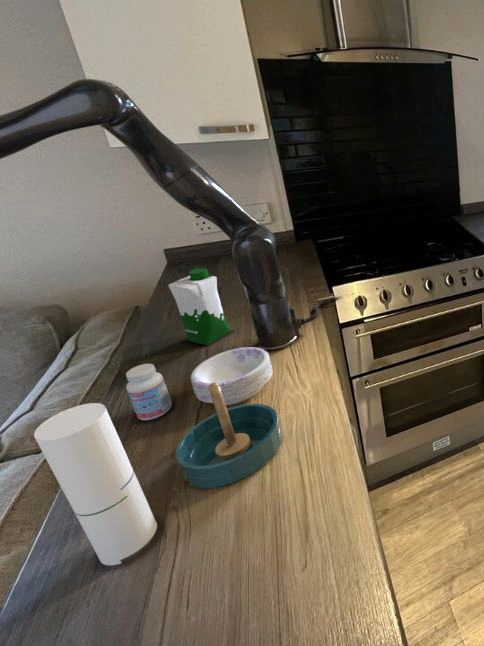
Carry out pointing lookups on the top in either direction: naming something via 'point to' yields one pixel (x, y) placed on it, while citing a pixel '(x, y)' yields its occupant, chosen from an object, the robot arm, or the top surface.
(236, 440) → the wooden peg on disc
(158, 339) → the top surface
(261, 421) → the bowl
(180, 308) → the milk carton
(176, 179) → the robot arm
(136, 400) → the pill bottle
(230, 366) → the paper bowls
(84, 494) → the cylindrical container
